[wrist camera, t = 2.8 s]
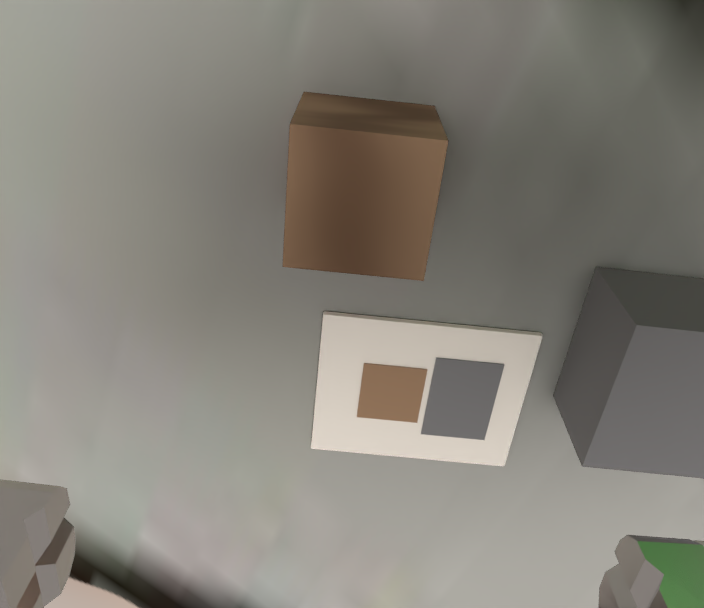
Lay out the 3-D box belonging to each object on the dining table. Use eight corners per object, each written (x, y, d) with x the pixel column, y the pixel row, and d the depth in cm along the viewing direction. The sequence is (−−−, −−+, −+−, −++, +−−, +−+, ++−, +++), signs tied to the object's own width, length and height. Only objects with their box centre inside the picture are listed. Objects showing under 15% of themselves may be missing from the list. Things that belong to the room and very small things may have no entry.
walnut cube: (433, 105, 24) (448, 140, 20) (414, 225, 27) (423, 280, 23) (304, 91, 24) (289, 124, 20) (296, 213, 27) (282, 267, 22)
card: (541, 332, 29) (543, 337, 29) (503, 462, 33) (504, 467, 33) (323, 311, 29) (322, 315, 29) (311, 444, 33) (310, 449, 32)
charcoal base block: (751, 282, 28) (821, 344, 24) (692, 407, 31) (744, 482, 27) (594, 265, 28) (636, 325, 23) (552, 393, 31) (581, 466, 27)
